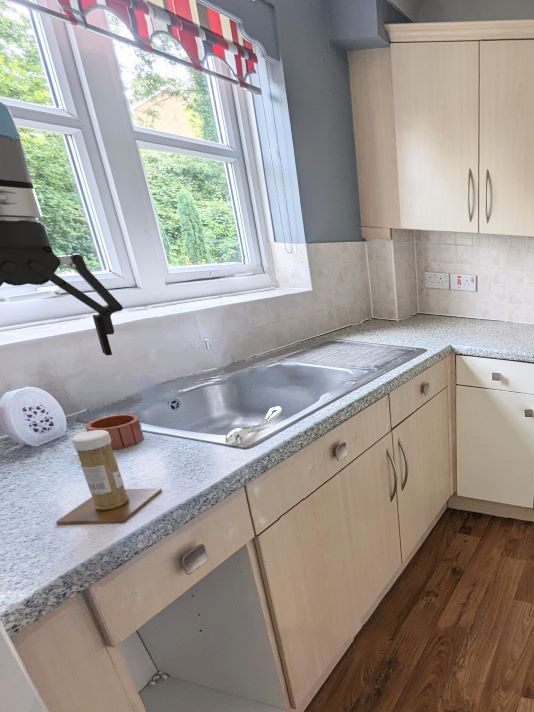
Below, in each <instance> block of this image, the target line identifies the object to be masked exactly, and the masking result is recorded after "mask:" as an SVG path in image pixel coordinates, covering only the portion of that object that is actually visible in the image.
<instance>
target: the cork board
mask: <svg viewBox="0 0 534 712" xmlns="http://www.w3.org/2000/svg"><path fill="white" fill-rule="evenodd" d="M125 491H126V494H127V496H128V501H127V502H126V503H124V504H123V505H121V506H119V507H116V508H113V509H108V510H98V509H96V508H95V506H94V505H95V503H94V500H93V497H92V496H91V497H89V498H88V499H87V500H85V501H84V502H82V503H81V504H80V505H78V506H76V507H75V508H74V509H72V510H71V511H69V512H68V513H66V514H65V515H64V516H62V517H61V518H59V519H58V520H56V522H55V523H56V525H57V526H58V525H59V526H60V525H63V526H64V525H90V524H91V525H92V524H93V525H94V524H124V523H126V521H128V520H129V519H130V518H131V517H133V516H134V515H135V514H136V513H138V512H139V511H140V510H141V509H142V508H143V507H145V506H147V504H148V503H149V502H151V501H152V500H153V499H155V498H156V497H157V496H158V495H159V494H160V493H162V491H163V490H162V488H160V487H159V488H125Z"/></svg>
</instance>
